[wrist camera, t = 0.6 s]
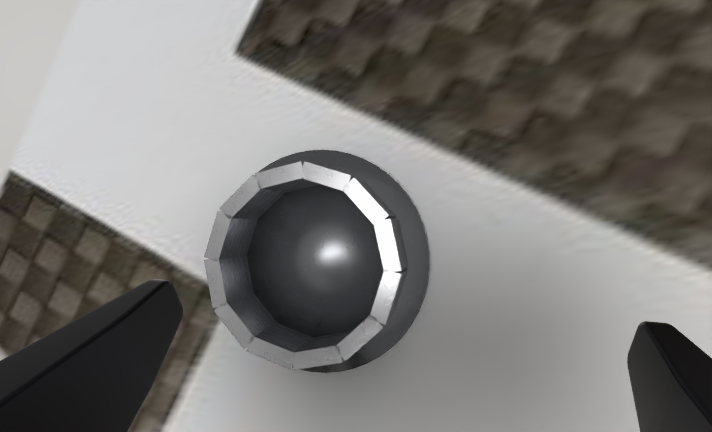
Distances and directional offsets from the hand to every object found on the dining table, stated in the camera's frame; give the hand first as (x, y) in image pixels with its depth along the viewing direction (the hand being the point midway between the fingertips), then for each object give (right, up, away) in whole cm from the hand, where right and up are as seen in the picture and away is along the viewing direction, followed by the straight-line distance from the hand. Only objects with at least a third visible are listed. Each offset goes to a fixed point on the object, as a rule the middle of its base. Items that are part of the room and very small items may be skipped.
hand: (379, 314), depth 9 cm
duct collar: (-2, 0, +16) cm, 16 cm away
